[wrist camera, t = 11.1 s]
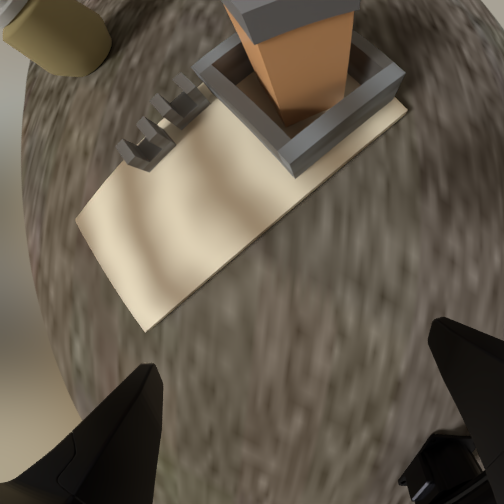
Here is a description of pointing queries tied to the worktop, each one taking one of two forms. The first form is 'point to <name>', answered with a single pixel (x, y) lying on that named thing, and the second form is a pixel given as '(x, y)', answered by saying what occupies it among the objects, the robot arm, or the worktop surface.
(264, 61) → the plug
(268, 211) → the board
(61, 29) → the squeeze bottle
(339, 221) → the worktop surface
